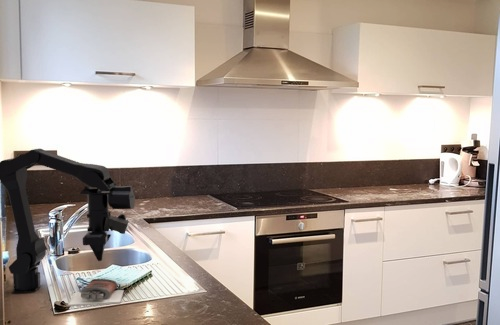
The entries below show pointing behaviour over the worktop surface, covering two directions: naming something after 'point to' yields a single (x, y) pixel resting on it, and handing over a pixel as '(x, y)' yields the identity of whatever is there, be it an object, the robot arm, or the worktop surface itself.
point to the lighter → (98, 289)
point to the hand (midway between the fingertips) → (100, 260)
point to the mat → (112, 299)
